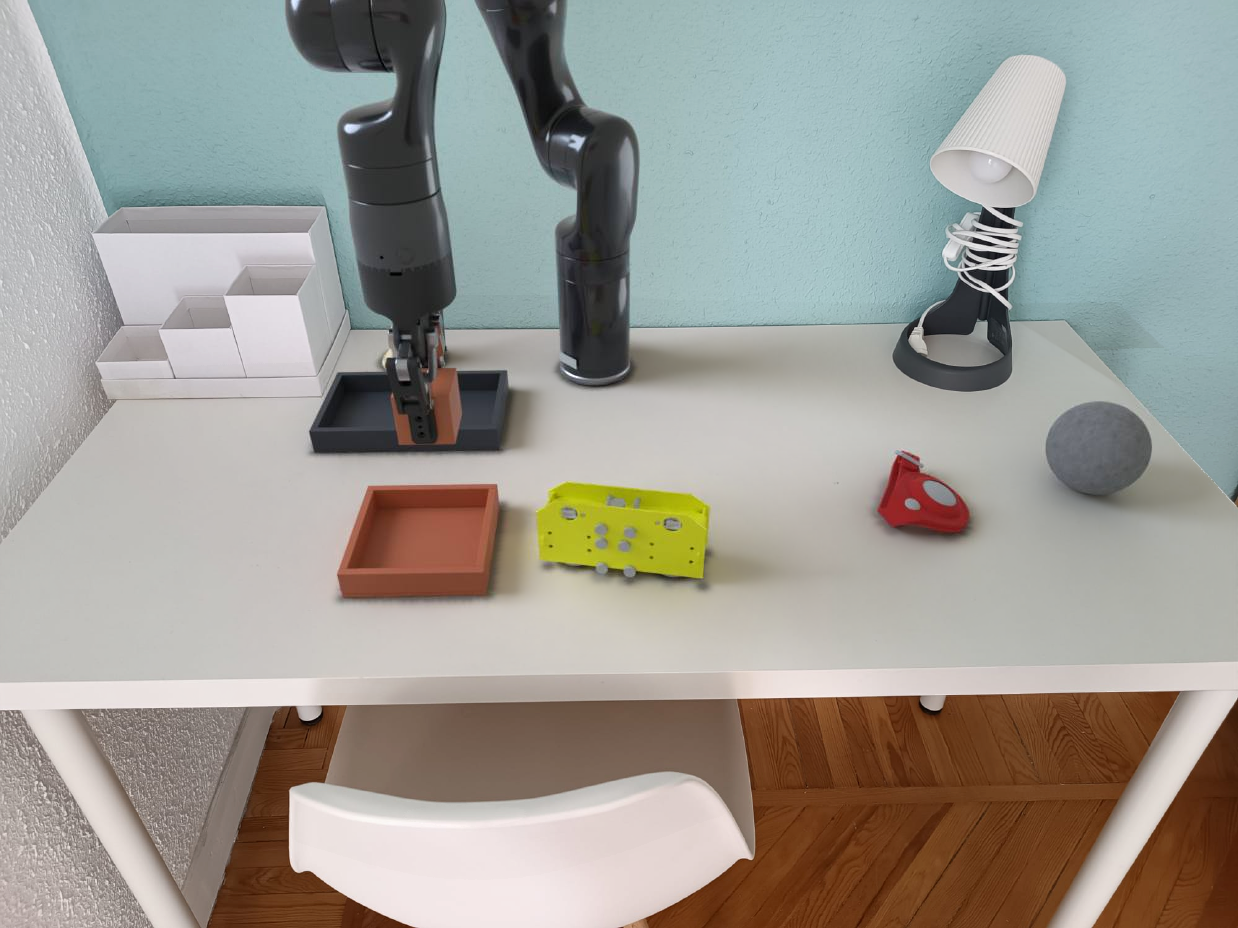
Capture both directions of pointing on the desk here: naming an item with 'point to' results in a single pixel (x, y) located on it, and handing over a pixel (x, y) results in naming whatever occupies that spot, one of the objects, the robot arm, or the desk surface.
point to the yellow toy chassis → (624, 529)
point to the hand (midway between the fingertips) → (430, 423)
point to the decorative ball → (1098, 447)
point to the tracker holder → (921, 498)
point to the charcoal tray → (367, 420)
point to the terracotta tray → (421, 541)
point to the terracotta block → (437, 409)
